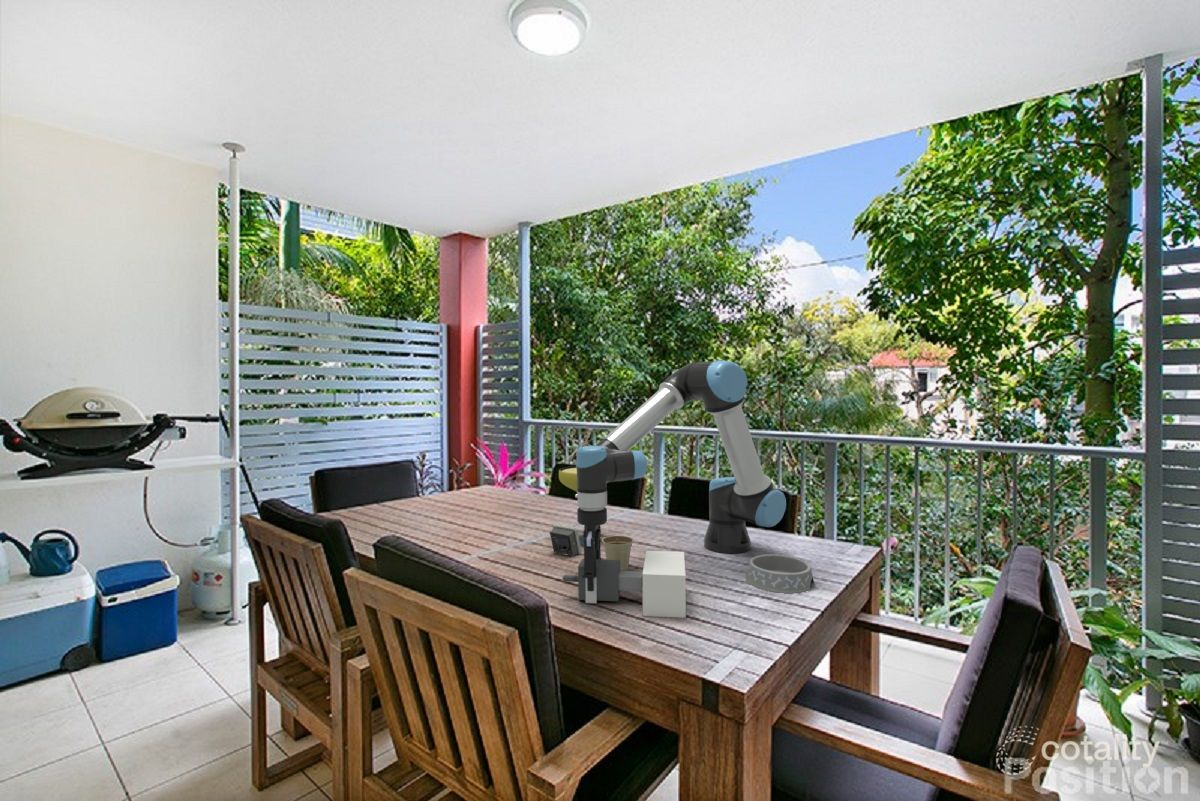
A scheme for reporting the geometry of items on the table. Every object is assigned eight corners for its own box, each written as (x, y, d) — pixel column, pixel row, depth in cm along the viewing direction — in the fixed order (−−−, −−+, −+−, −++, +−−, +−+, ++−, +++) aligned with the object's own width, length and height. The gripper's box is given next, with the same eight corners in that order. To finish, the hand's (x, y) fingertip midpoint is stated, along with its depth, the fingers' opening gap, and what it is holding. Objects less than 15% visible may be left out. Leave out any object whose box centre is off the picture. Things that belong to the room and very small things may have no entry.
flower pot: (638, 565, 166) (638, 537, 165) (626, 576, 157) (626, 546, 157) (609, 561, 170) (609, 533, 169) (596, 571, 161) (596, 542, 161)
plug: (642, 593, 142) (642, 560, 142) (641, 602, 136) (641, 568, 136) (565, 589, 145) (564, 558, 145) (560, 598, 139) (560, 565, 139)
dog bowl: (817, 576, 156) (817, 558, 156) (807, 599, 140) (807, 578, 140) (756, 567, 164) (756, 549, 164) (739, 588, 148) (739, 568, 148)
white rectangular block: (684, 588, 147) (683, 551, 147) (685, 617, 129) (685, 575, 129) (646, 587, 148) (646, 550, 148) (642, 615, 130) (642, 574, 130)
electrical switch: (582, 554, 177) (580, 526, 176) (572, 560, 173) (570, 531, 172) (558, 549, 183) (556, 522, 181) (549, 555, 178) (547, 527, 177)
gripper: (583, 499, 150) (584, 583, 151) (570, 516, 131) (572, 612, 132) (610, 499, 149) (611, 584, 150) (602, 517, 130) (603, 613, 131)
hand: (593, 597), depth 141 cm, fingers closed on plug, 6 cm apart
